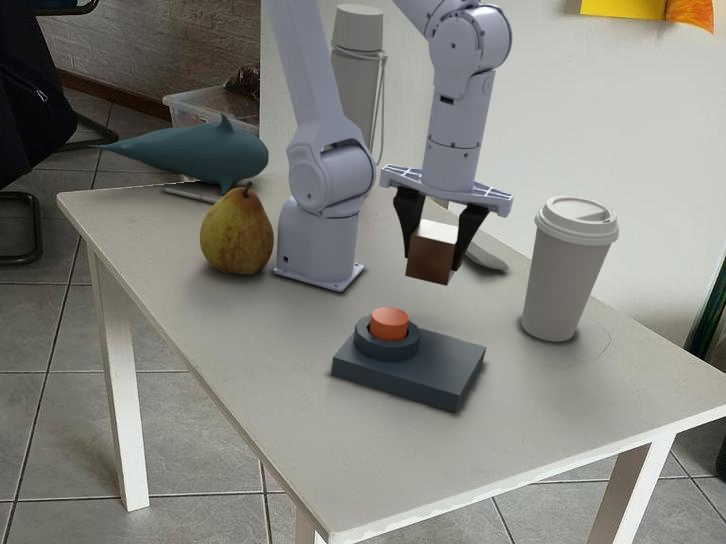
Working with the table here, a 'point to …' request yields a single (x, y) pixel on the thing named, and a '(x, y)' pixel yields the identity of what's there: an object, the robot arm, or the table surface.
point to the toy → (199, 152)
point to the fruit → (237, 233)
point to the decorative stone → (484, 257)
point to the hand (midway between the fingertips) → (433, 261)
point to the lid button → (389, 324)
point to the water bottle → (359, 66)
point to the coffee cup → (566, 263)
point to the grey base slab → (411, 364)
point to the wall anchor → (191, 195)
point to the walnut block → (432, 252)
